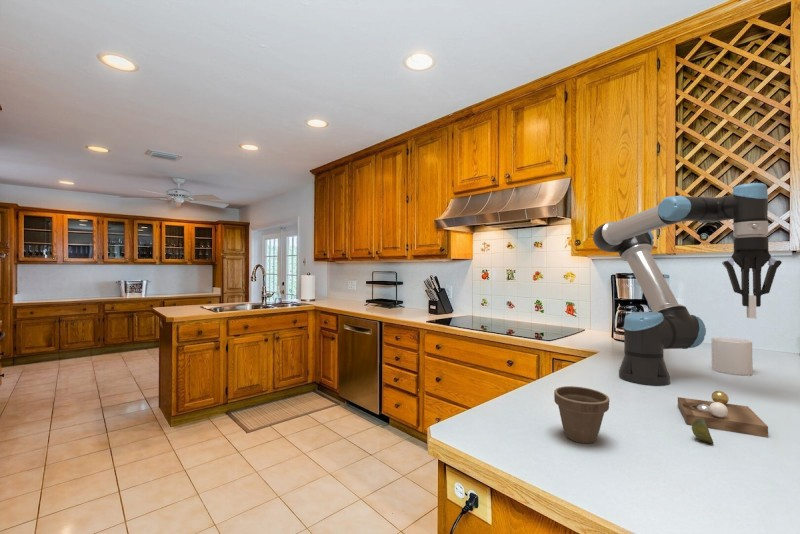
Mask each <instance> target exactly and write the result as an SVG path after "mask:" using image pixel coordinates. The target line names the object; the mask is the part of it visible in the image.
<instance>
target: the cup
mask: <svg viewBox="0 0 800 534" xmlns="http://www.w3.org/2000/svg"><path fill="white" fill-rule="evenodd" d="M753 364H754V363H753V341H751V340H749V339H748V340H747V339H742V338H733V337H721V336H720V337H712V338H711V370H712V371H714V372H717V373H721V374H726V375H732V376H744V377H745V376H752V375H753Z"/></svg>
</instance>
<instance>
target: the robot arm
mask: <svg viewBox="0 0 800 534" xmlns="http://www.w3.org/2000/svg"><path fill="white" fill-rule="evenodd" d="M768 209H769V195H768V185H766V184H765V183H762V182H753V183H751V182H750V183H743V184H742V183H741V184H739V185H737V186H734V187H733V189H732V194H729V195H725V196H724V195H723V196H718V197H712V196H711V197H710V196H708V197H707V196H706V197H705V196H683V195H675V196H673V195H671V196H667V197H665V198H663V199H662V201H660V202H659V204H658V205H656V206H653V207H651V208H648V209H646V210H643V211H640V212H638V213H635V214H632V215H630V216H628V217H625V218H622V219H620V220H618V221H608V222H606V223H603V224H601V225H599V226H597V228H595V230H594V232H593V234H592V241H593V243H594V245H595V247H596V248H597V249H599V250H600V251H602V252H606V253H618V254H619V257H620V259H621V260H622V261H624V262H627V263H628V265H629V267H630V269H631V271H632V274H633V275H634V277H635V279H636V281H637V283H638V285H639V287H640V289H641V291H642V293H643V295H644V297H645V300H646V301H647V303H648V305H649V307H650V309H651V311H636V312H631V313H628V314H626V315H625V317H624V321H623V322H624V323H623V333H624V334H623V335H624V336H623V337H624V341H623V342H624V347H623V349H624V355H623V358H622V361H621V364H620V365H619V366H620V367H619V369H618V377H619V378H620V379H622V380H624V381H627V382H630V383H633V384H639V385H640V384H641V385H646V386H648V385H649V386H666V385H669V384H670V383H671V375H670V373H669V370H668V368H667V365H666V362H665V359H664V357H665V356H664V353H665V352H664V350H670V349H671V350H676V349H677V350H678V349H681V350H685V349H686V350H687V349H691V348H692V349H693V348H696V347H699V346H700V345H702V343H703V342H704V341H705V336H706V335H707V328H706V325H705V323H704V321H703V319H702V318H701V317H699V316H696V315H694V314H691V313H690V312H689V310H688V309H687V306H685V305H683V304H679V302H678V300H677V298H676V296H675V295H674V293H673V291H672V290H671V288H670V285H669V284H668V282H667V280H666V279H665V276H664V275H663V273H662V271H661V269H660V268H659V265H658V263H657V262H656V261H655V259H654V257H653V254H652V251H653V246H654V242H655V241H654V234H653V232H652V231H655V230H658V229H662V228H665V227H668V226H671V225H675V224H679V223H681V222H685V221H686V222H698V223H700V224H708V223H710V224H713V223H716V222H723V221H729V220H733V221H732V223H733V230H732V231H733V234H732V235H733V237H734V239H733V253H732V255H731V258H729V259H727V260H723V261H722V262H721V264H722V266H723V267H724V268H725V269H726V271H727V274H728V277H729V280H730V283H731V286H732V291H733V292H734V293H737V294H740V295H741V304H742V306H743V307H746V318H747V319H757V308H760V307H761V305H762V300H761V299H762V297H761V296H763V295H766V294H770V292H771V288H772V285H773V283H774V280H775V276H776V273H777V269H778V268H779V267H780V266H781V264H782V263H783V262H782V260H777V259H775V258H773V257H772V255H771V254H770V252H769V238H768V237H767V236H768V235H769V218H768V213H769V212H768V211H769V210H768ZM734 262H735V263H734ZM735 264H736V265H737V266H738V267H739V268H740V273H741V274H740V277H741V278H740V280H741V281H740V282H741V283H739V280H738V277H737V274H736V271H735V268H734V266H735ZM766 264H767V265H768V268H767V271H766V273H765V278H764V280H763V283H762V268H763V267H764V266H765V265H766ZM750 271H752V295H751V294H750Z"/></svg>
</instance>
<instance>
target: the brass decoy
mask: <svg viewBox="0 0 800 534" xmlns="http://www.w3.org/2000/svg"><path fill="white" fill-rule="evenodd" d="M729 399H730V398H729V396H728V394H727V393H725V392H724V391H722V390H716V391H713V392H712V393H711V400H712V402H719V403H722V404H728V402H729V401H730V400H729Z"/></svg>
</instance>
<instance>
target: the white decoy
mask: <svg viewBox="0 0 800 534" xmlns="http://www.w3.org/2000/svg"><path fill="white" fill-rule="evenodd" d="M713 402H714V401H713ZM709 410H710V412H711V413H712V414H713V415H714V416H716V417H725V416H726V415H727V414H728V409H727V407H726V406H725V405H724V404H722V403H719V402H714V403H712V404H711V405H710V406H709Z"/></svg>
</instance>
